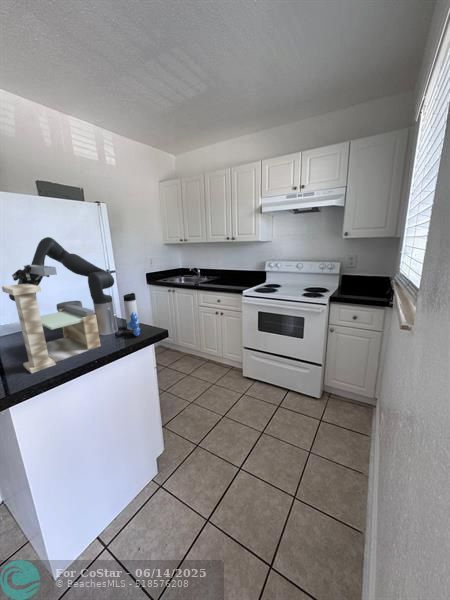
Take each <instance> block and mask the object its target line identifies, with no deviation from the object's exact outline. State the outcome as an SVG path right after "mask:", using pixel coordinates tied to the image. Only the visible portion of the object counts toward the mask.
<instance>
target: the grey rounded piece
mask: <svg viewBox="0 0 450 600" xmlns="http://www.w3.org/2000/svg"><path fill="white" fill-rule="evenodd" d="M68 304H73V305H76V306H80V307H83V302H82V301H81V300H69V301H63V302H60V303H57V304H56V311H57V312H59V310H60V309H64V308H65V306H64V305H68Z"/></svg>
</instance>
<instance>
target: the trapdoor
mask: <svg viewBox="0 0 450 600" xmlns="http://www.w3.org/2000/svg"><path fill="white" fill-rule="evenodd" d="M64 306H65V311H62V312H58V311H57V312H53V313H49V314H48V313H47V314H44V315H40V317H41V322H42V327H45V328H48V329H49V330H52V331H53V330H55V329H59V328H62V327H64V326H68V325H72V324H76V323H80V322H83V319H82V317H87V316H91V315H95V311H94V310H93V309H90V308H87V307H83V306H82V307H80V306H76V305H73V304H68V305H64Z"/></svg>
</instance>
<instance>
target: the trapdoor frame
mask: <svg viewBox="0 0 450 600" xmlns="http://www.w3.org/2000/svg"><path fill="white" fill-rule="evenodd" d="M62 311H65V308H64V309H60V310H59V312H62ZM82 319H83V322H80V323H76V324H72V325H68V326H64V327H61V329H62V334H63V337H62V338H58V339H53V340H51V341H47V342H46V346H47V351H48V355H49V358H51V359H53V360H54V361H55V363H56V362H60V361H63V360H65V359H69V358H71V357H74V356H78V355H79V354H82V353H85V352H89V351H91V350H94V349H97V348H99V347H102V345H101V340H100V339H101V338H100V335H99V332H98V325H97V319H96V315H95V314H94V315H91V316H87V317H82Z"/></svg>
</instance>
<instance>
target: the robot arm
mask: <svg viewBox="0 0 450 600" xmlns="http://www.w3.org/2000/svg"><path fill="white" fill-rule="evenodd" d="M46 256H47V257H48V258H50V259H51V260H52V259H53V260H55V261H57V262H58V263H60V264H62V265H63V267H64V268H65V269H67V270H69V271H70V272H72V273H73V274H76V275H79V276H82V277H86V278H87V283H88V284H87V285H88V289H89V293H90V294H89V295H90V297H91V300H92V304H93V309H94V310H93V311H94V315H96V319H97V325H98V332H99V336H110V335H113V334H115V333H117V332H118V331H119V327H118V318H117V314H115V310H114V302H113V296H112V295H110V294H105V293H104V290H107V289H110V288H111V287H113V286H114V284H115V279H114V276H113V274H112V273H110V272H109V271H107V270H105V269H103V268H100V267H98V266H96V265H95V264H93V263H91V262H90V261H88V260H86V259H84V258H83V257H82V256H80V255H78V254H76V253H70V252H69V251H67V250H66V249H65V248H63V246H62V245H60V243H59V242H57V241H56V240H55V239H54V238H53V237H49V236H46V237H44V238H42V239H40V241H39V243H38V244H37V246H36V249H35V252H34V255H33V258H32V261H31V263H30V264H26V265H27V266H25V265H24V266H25V268H24V267H23V269H18V270H16V271H15V272H13V274H11V276H12V278H13V279H12V280H13V281H15V282H16V281H18V282H17V285H19V284H32V285H37V286H40V283H41V281H42V280H43V278H44V277H45V276H44V275H38V274H32V273H30V270H31V267H30V265H41V266H45V259H46ZM50 276H51V275H47V276H46V278H50ZM35 293H36V294H37V292H35ZM8 298H9V299H10V300H11V301H12V302H15V298H14V295H11V294H9V295H8Z"/></svg>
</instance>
